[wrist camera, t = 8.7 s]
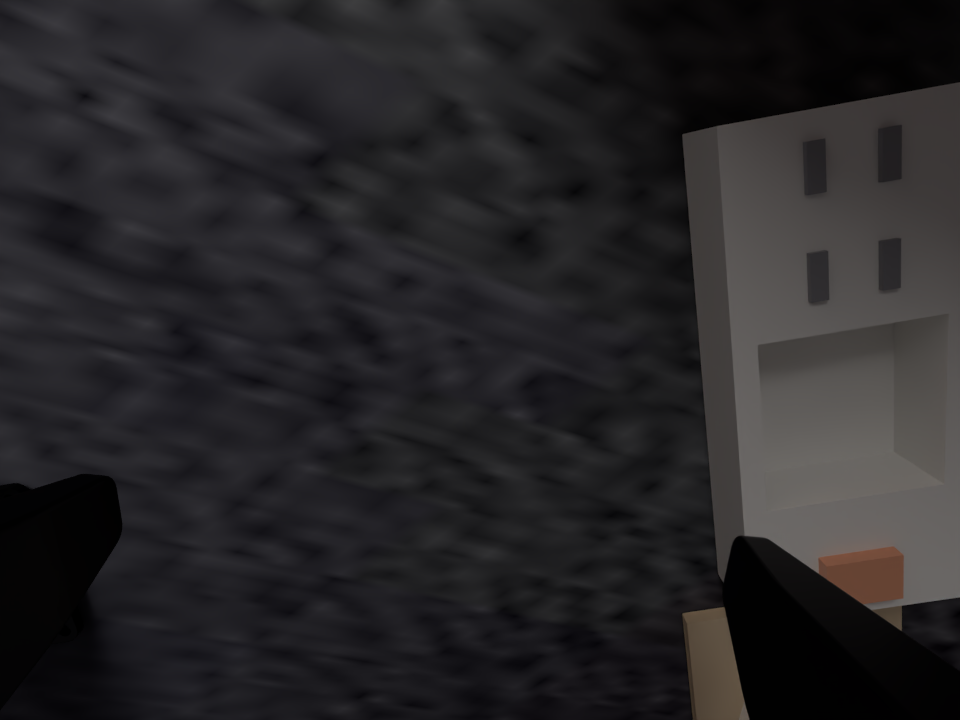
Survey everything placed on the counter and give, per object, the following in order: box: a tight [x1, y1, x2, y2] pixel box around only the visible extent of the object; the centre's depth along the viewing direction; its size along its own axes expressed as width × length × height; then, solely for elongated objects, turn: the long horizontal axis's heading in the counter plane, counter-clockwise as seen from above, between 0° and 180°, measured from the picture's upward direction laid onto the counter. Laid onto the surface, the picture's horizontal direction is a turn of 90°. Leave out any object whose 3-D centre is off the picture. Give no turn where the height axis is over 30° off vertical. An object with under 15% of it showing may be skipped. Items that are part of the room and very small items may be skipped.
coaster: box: [682, 606, 902, 720], centre depth 25 cm, size 8×8×1 cm
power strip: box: [682, 82, 960, 610], centre depth 20 cm, size 7×16×4 cm, turn 10°
